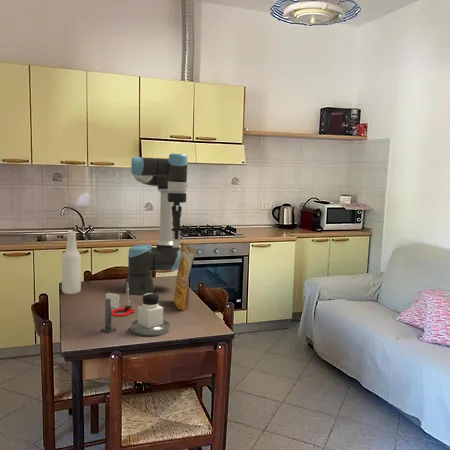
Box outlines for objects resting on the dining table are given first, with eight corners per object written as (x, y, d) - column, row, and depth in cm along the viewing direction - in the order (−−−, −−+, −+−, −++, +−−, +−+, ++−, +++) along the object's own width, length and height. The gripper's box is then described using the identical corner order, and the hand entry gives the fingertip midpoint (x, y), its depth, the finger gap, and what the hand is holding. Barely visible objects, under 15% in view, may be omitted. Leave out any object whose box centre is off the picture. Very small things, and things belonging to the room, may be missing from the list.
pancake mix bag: (185, 299, 224) (187, 241, 221) (194, 311, 206) (196, 249, 203) (171, 299, 223) (173, 241, 219) (179, 312, 204) (181, 249, 201)
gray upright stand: (107, 328, 181) (107, 291, 179) (120, 330, 179) (120, 294, 177) (100, 331, 177) (100, 294, 176) (113, 334, 175) (114, 296, 173)
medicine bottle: (163, 324, 182) (163, 294, 180) (148, 329, 177) (148, 298, 175) (152, 320, 187) (152, 290, 185) (137, 323, 181) (137, 293, 180)
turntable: (144, 320, 192) (144, 316, 191) (176, 326, 186) (176, 322, 186) (122, 332, 178) (122, 326, 178) (156, 339, 172) (156, 333, 172)
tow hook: (119, 319, 194) (136, 313, 201) (118, 289, 192) (135, 284, 199) (106, 314, 199) (123, 309, 206) (105, 285, 197) (122, 280, 204)
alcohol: (79, 294, 225) (79, 232, 221) (60, 294, 224) (60, 232, 220) (82, 289, 233) (82, 230, 230) (63, 289, 232) (63, 229, 228)
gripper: (187, 194, 176) (186, 250, 179) (185, 190, 201) (183, 239, 204) (167, 194, 175) (166, 249, 178) (167, 190, 200) (166, 239, 203)
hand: (175, 244), depth 191 cm, fingers open, 13 cm apart
